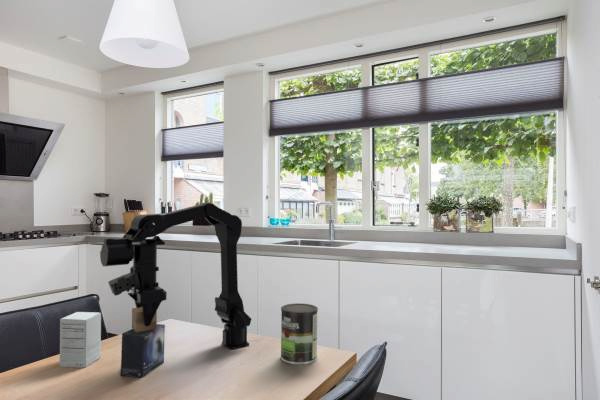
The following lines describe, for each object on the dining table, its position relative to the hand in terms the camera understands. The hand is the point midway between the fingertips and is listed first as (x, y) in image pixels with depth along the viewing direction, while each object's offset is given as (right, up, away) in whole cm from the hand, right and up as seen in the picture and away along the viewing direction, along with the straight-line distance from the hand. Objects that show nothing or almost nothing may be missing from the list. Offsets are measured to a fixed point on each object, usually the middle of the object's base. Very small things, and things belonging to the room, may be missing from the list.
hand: (144, 323), depth 106 cm
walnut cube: (0, -1, 0) cm, 1 cm away
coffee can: (+40, -12, +8) cm, 43 cm away
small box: (0, -12, 0) cm, 12 cm away
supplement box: (-19, -12, +4) cm, 23 cm away
